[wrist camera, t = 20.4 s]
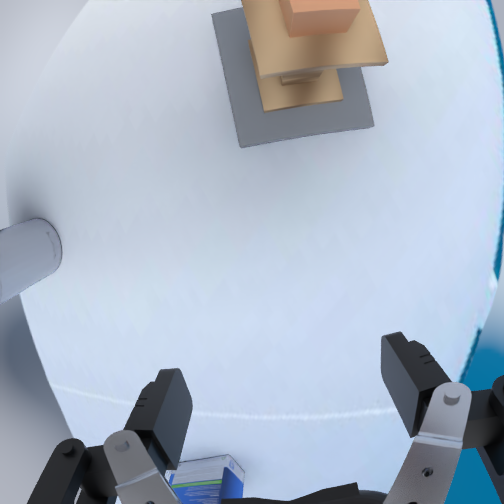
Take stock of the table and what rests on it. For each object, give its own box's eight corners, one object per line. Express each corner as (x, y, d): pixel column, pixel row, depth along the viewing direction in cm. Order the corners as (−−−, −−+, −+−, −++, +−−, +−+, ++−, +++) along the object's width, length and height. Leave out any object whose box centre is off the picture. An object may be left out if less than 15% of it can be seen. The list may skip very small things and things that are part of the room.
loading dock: (241, 148, 37) (239, 147, 35) (214, 21, 33) (211, 14, 30) (368, 128, 36) (374, 126, 33) (334, 4, 31) (338, -4, 29)
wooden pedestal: (264, 112, 34) (260, 75, 18) (248, 44, 32) (234, -26, 16) (340, 101, 33) (388, 61, 17) (322, 34, 31) (352, -36, 15)
